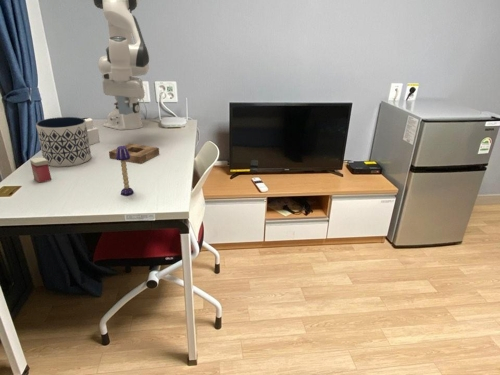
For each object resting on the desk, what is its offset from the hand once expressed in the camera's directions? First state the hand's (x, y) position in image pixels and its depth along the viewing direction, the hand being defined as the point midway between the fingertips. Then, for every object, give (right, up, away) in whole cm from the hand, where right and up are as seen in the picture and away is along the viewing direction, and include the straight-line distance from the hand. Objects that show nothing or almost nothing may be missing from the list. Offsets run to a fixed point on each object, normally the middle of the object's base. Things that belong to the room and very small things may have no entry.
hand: (125, 106), depth 161 cm
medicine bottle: (-21, -16, +9) cm, 28 cm away
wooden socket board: (+7, -24, -6) cm, 25 cm away
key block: (0, -3, +1) cm, 3 cm away
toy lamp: (+15, -40, -41) cm, 59 cm away
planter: (-19, -26, -14) cm, 35 cm away
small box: (-19, -35, -33) cm, 52 cm away
